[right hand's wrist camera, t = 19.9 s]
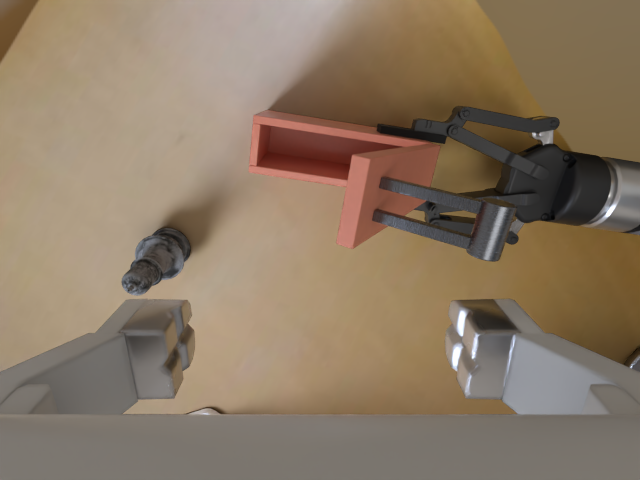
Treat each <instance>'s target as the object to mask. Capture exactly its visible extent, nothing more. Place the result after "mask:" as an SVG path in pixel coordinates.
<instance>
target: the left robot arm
mask: <svg viewBox="0 0 640 480" xmlns="http://www.w3.org/2000/svg"><path fill="white" fill-rule="evenodd" d="M467 120H468V121H473V122H478V123H483V124H488V125H493V126H498V127H503V128H508V129H514V130H519V131H524V132H528V135H529V137H530V138H533V139H537V140H538V144H537V145H535V146H533V147H530V148H528V149H526V150H524V151H522V152H520V153H518V154H515V153H513V152H510V151H508V150H506V149H504V148H502V147H500V146H498V145H496V144H494V143H492V142H490V141H488V140H486V139H484V138H482V137H480V136H478V135H476V134H474V133H472V132H470V131H468V130H466V129H464V128H462V127H463V125H464V124H465V122H466V121H467ZM559 123H560V122H559V119H558V118H555V117H547V116H538V117H532V118H521V117H516V116H511V115H506V114H501V113H496V112H491V111H486V110H481V109H476V108H471V107H465V106H456V107H455V108H454V109H453V111H452V115H451V116H450V118H449V119H448V120H447V121H445V122H438V121H432V120H426V119H420V118H418V119H414V120H413V123H412V128H411V129H409V128H403V127H397V126H390V125H384V124H378V126H377V131H378V132H379V133H381V134H387V135H394V136H400V137H406V138H412V139H419V140H425V141H430V142H436V143H443V144H445V141H446V137H447V136H448V137H450V138H452V139H454V140H456V141H458V142H460V143H463V144H465V145H467V146H469V147H471V148H473V149H475V150H477V151H479V152H481V153H483V154H485V155H487V156H489V157H491V158H493V159H495V160H497V161H499V162H501V163H503V166H502V171H501V178H500V180H499V181H498V183H497V185H496V188H490V189H485V190H483V191H475V192H466V193H458V194H460V195H464V196H468V197H472V198H476V199H480V200H482V198H494V199H499V200H504V201H507V202H510V203H512V204H515V205H516V206H517V210H516V213H515V216H514V219H513V222H512V225H511V228H510V230H509V233H508V236H507V239H506V242H507V243H509V244H511V245H512V244H515V243H517V242H518V236H517V235H516V234H517V233H518V231H519V230H520V229H521V227H522V226H523V224H524V223H530V222H533V221H539V220H540V221H547V222H554V223H560V224H567V225H574V226H579V225H580V226H582V227H587V228H594V229H601V230H608V231H616V232H623V233H630V234H636V235H640V163H639V162H633V161H627V160H621V159H615V158H608V157H599V156H596V155H590V154H583V153H577V152H571V151H565V150H561V149H560V148H559V147H558V146H557V145H555V144H553V130H555V129H556V128H558V126H559ZM413 210H420V211H424V212H425V221H426V222H427V223H430V224H434V225H437V226H441V227H444V228H448V229H451V230H455V231H458V232H462V233H466V234H471V232H472V229H473V226H474V223H475V219H476V218H468V217H460V216H451V215H443V214H439V213H444V212H453V211H462V210H461V209H457V208H453V207H449V206H445V205H441V204H438V203H434V202H430V201H426V202H424V203H423V204H421V205H420V206H418V207H416V208H415V209H413ZM624 365H625V366H627V367H629V368H632V369H634V370H636V371H638V372H640V347H639V348H638V349H637V350H636V351H635V352H634V353H633V354H632V355H631V356H630V357H629V358H628V359H627V361H626V362H625V363H624Z"/></svg>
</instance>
